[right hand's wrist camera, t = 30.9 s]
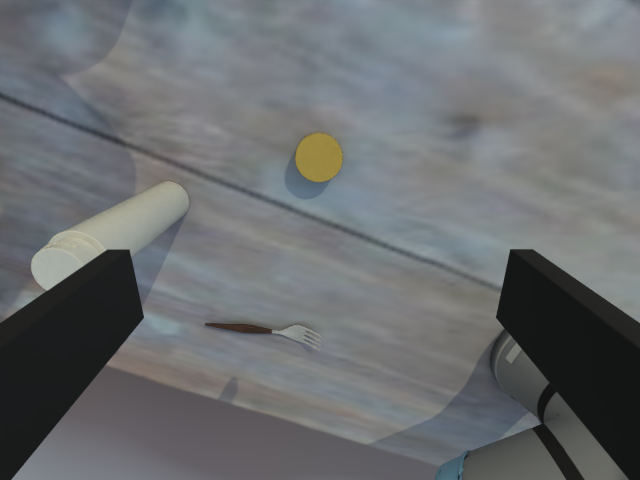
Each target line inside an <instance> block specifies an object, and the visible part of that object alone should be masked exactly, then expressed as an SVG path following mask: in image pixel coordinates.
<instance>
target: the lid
mask: <svg viewBox="0 0 640 480" xmlns="http://www.w3.org/2000/svg"><path fill="white" fill-rule="evenodd" d="M296 150H297V151H296V155H295V161H296V165H297V168H298V170H299V172H300V173H301V174H302V175H303V176H304V177H305V178H307V179H308V180H311V181H314V182H324V181H327V180H330V179H331V178H333V177H334V176H335V175H336V174H337V173H338V172H339V170H340V168H341V165H342V160H343V157H342V153H343V152H342V150H341V148H340V144H338V143H337V141H336V139H334V138H333V137H332V136H331V135H328V134H326V133H324V132H323V133H318V132H317V133H312V134H311V133H310V135H308V136H306V137H304V139H303V140H302V141H301V142H300V143H299V146H298V147H297V149H296Z"/></svg>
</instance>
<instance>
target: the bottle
mask: <svg viewBox="0 0 640 480" xmlns="http://www.w3.org/2000/svg"><path fill="white" fill-rule="evenodd" d="M189 205H190V201H189V197H188V194H187V192H186V191H185V190H184V189H183V188H182V187H181V186H180V185H178V184H176V183H174V182H170V181H165V182H160V183H158V184H156V185H154V186H152V187H150V188H148V189H146V190H144V191H142V192H140V193H138V194H136V195H134V196H132V197H130V198H128V199H126V200H124V201H122V202H120V203H118V204H116V205H114V206H112V207H110V208H108V209H106V210H104V211H102V212H100V213H98V214H96V215H94V216H92V217H90V218H88V219H86V220H84V221H82V222H80V223H78V224H76V225H74V226H72V227H70V228H68V229H66V230H64V231H62V232H60V233H58V234H56V235H55V236H54V237H52V239H51V240H50V241H49V243H48V245H46V246H45V247H43V248H42V249H41V250H40V251H39V252H37V253H36V254H35V255H34V257H33V259H32V262H31V271H32V274H33V276H34V278H35V280H36V281H37V283H38V284H39V285H40V286H41V287H42V288H44V289H45V290H47V291H48V290H49V289H51V288H52V287H53V286H55V285H56V284H58V283H59V282H61V281H62V280H64V279H65V278H67V277H68V276H69V275H71V274H72V273H74V272H75V271H77V270H78V269H80V268H81V267H83V266H84V265H85V264H87V263H88V262H90V261H91V260H93V259H94V258H96V257H97V256H98V255H100V254H101V253H103V252H104V251H106V250H107V249H130V254H131V259H132V258H133V257H134V256H135V255H137V254H138V253H139V252H140V251H141V250H143V249H144V248H145V247H146V246H147V245H149V244H150V243H151V242H152V241H153V240H155V239H156V238H157V237H158V236H160V235H161V234H162V233H163V232H164V231H166V230H167V229H168V228H169V227H170V226H172V225H173V224H174V223H175V222H176V221H178V220H179V219H180V218H181V217H183V216H184V215H185V214H186V213H187V211H188V209H189Z"/></svg>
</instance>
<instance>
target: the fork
mask: <svg viewBox="0 0 640 480" xmlns="http://www.w3.org/2000/svg"><path fill="white" fill-rule="evenodd" d="M205 325H207V326H211V327H216V328H222V329H227V330H232V331H237V332H243V333H275V334H281V335H284V336H286V337H288V338H291V339H293V340H295V341H299V342H302V343H305V344H307V345H309V346H311V347H314V348H316V349H318V348H317V347H315V346H313V345H312V344H310V343H308V342H306V341H304V339H306V340H308V341H310V342H313V343H315V344H317V345H319V344H318V343H316V342H314V341H313V340H311V339H309V338H307V337H305V336H304V335H307V336H309V337H312V338H314V339H316V340H318V341H320V342H322V341H321V340H319V339H317V338H316V337H314V336H312V335H310V334H308V333H306V332H305V331H308V332H311V333H313V334H315V335H317V336H320V335H319V334H317V333H315V332H313V331H311V330H309V329H307V328H305V327H303V326H300V325H293V326H290V327H288V328H286V329H284V330H281V331H277V330H271V329H267V328H262V327H258V326H253V325H246V324H217V323H205ZM320 337H321V338H323V337H322V336H320ZM319 346H321V345H319ZM318 350H319V351H321V350H320V349H318Z"/></svg>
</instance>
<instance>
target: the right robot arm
mask: <svg viewBox="0 0 640 480" xmlns="http://www.w3.org/2000/svg"><path fill="white" fill-rule="evenodd" d="M143 318H144V315H143V311H142V306H141V301H140V296H139V292H138V287H137V282H136V278H135V273H134V268H133V263H132V259H131V254H130V249H107V250H106V251H104V252H103V253H101V254H100V255H98V256H97V257H96V258H94V259H93V260H91V261H90V262H88V263H87V264H85V265H84V266H83V267H81V268H80V269H78V270H77V271H75V272H74V273H72V274H71V275H69V276H68V277H67V278H65V279H64V280H62V281H61V282H59V283H58V284H56V285H55V286H53V287H52V288H51V289H49V290H48V291H46V292H45V293H43V294H42V295H40V296H39V297H38V298H36V299H35V300H33V301H32V302H30V303H29V304H27V305H26V306H24V307H23V308H22V309H20V310H19V311H17V312H16V313H14V314H13V315H11V316H10V317H9V318H7V319H6V320H4V321H3V322H1V323H0V480H11V479H12V478H13V477H14V476H15V474H16V473H17V472H18V471H19V469H20V468H21V467H22V466H23V465H24V463H25V462H26V461H27V460H28V459H29V457H30V456H31V455H32V454H33V452H34V451H35V450H36V449H37V448H38V446H39V445H40V444H41V443H42V441H43V440H44V439H45V438H46V437H47V435H48V434H49V433H50V432H51V430H52V429H53V428H54V427H55V426H56V424H57V423H58V422H59V421H60V419H61V418H62V417H63V416H64V415H65V413H66V412H67V411H68V410H69V409H70V407H71V406H72V405H73V404H74V402H75V401H76V400H77V399H78V398H79V396H80V395H81V394H82V393H83V391H84V390H85V389H86V388H87V387H88V385H89V384H90V383H91V382H92V380H93V379H94V378H95V377H96V376H97V374H98V373H99V372H100V371H101V369H102V368H103V367H104V366H105V365H106V363H107V362H108V361H109V360H110V358H111V357H112V356H113V355H114V354H115V352H116V351H117V350H118V349H119V347H120V346H121V345H122V344H123V343H124V341H125V340H126V339H127V338H128V337H129V335H130V334H131V333H132V332H133V330H134V329H135V328H136V327H137V326H138V324H139V323H140V322H141V321H142V319H143ZM496 318H497V319H498V321H499V322H500V323H501V324H502V326H503V327H504V328H505V330H504V332H503V333H502V334H501V335H500V336H499V338H498V339H497V341H496V343H495V345H494V347H493V349H492V353H491V358H490V365H491V370H492V373H493V375H494V377H495V379H496V380H497V382H498V384H499V385H500V387H501V388H502V389H503V391H504V392H505V393H506V394H507V395H509V396H510V397H511V398H513V399H514V400H516V401H517V402H519V403H520V404H521V405H522V406H524V407H525V408H526V409H527V410H528V411H530V412H531V413H532V414H533V415H535V416H536V417H537V418H538V419H539V420H540V421H541V423H542V424H541V425H538V426H536V427H533V428H530V429H527V430H525V431H522V432H520V433H517V434H515V435H512V436H510V437H507V438H504V439H502V440H499V441H496V442H494V443H491V444H488V445H486V446H483V447H480V448H478V449H475V450H472V451H465V452H464V453H463V454H462V456H460V457H457V458H455V459H453V460H451V461H449V462H446V463H444V464H443V465H442V466H440V468H439V469H438V471H437V473H436V476H435V480H640V323H639V322H637V321H636V320H634V319H633V318H631V317H630V316H629V315H627V314H626V313H624V312H623V311H621V310H620V309H618V308H617V307H616V306H614V305H613V304H611V303H610V302H608V301H607V300H605V299H604V298H602V297H601V296H600V295H598V294H597V293H595V292H594V291H592V290H591V289H589V288H588V287H587V286H585V285H584V284H582V283H581V282H579V281H578V280H576V279H575V278H573V277H572V276H571V275H569V274H568V273H566V272H565V271H563V270H562V269H560V268H559V267H557V266H556V265H555V264H553V263H552V262H550V261H549V260H547V259H546V258H544V257H543V256H542V255H540V254H539V253H537V252H536V251H534V250H533V249H510V254H509V259H508V263H507V268H506V273H505V278H504V282H503V287H502V292H501V296H500V301H499V306H498V311H497V315H496Z"/></svg>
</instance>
